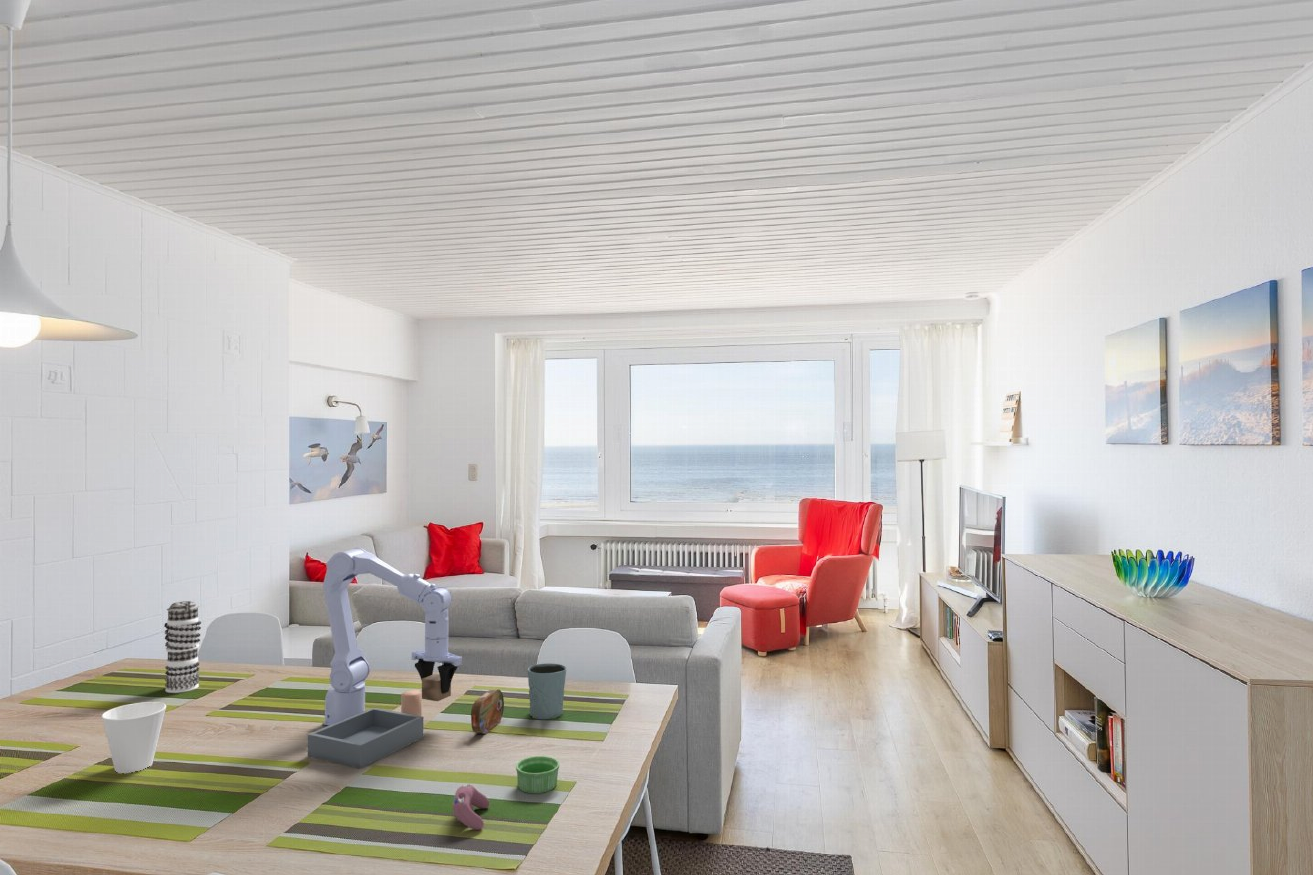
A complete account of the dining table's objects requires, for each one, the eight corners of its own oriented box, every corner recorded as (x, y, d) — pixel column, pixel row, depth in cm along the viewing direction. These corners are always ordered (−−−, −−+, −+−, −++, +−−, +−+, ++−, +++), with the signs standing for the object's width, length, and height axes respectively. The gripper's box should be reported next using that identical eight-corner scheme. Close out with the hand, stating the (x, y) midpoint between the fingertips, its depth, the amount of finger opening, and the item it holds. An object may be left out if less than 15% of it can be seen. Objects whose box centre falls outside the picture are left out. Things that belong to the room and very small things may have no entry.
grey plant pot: (520, 716, 200) (520, 670, 200) (540, 705, 210) (540, 661, 210) (554, 722, 196) (554, 675, 197) (572, 709, 206) (573, 664, 206)
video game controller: (470, 815, 149) (454, 783, 149) (491, 803, 150) (475, 772, 150) (462, 840, 140) (445, 806, 139) (485, 828, 140) (467, 794, 140)
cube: (421, 698, 192) (421, 678, 192) (435, 692, 196) (435, 673, 197) (437, 701, 190) (437, 681, 190) (450, 695, 194) (450, 675, 194)
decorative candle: (188, 693, 220) (189, 605, 220) (156, 693, 220) (157, 605, 220) (207, 683, 229) (208, 599, 229) (176, 683, 229) (177, 599, 229)
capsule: (396, 722, 196) (397, 694, 197) (410, 715, 201) (410, 689, 201) (412, 724, 194) (412, 697, 194) (425, 718, 199) (425, 691, 199)
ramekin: (539, 799, 153) (539, 776, 153) (506, 788, 158) (506, 767, 158) (568, 782, 161) (568, 761, 161) (535, 773, 165) (535, 752, 166)
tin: (480, 739, 185) (480, 704, 185) (468, 738, 186) (468, 703, 186) (505, 717, 200) (505, 685, 200) (493, 717, 200) (493, 684, 200)
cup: (95, 782, 160) (96, 723, 161) (105, 762, 171) (106, 706, 171) (162, 771, 166) (163, 714, 166) (168, 752, 176) (169, 698, 177)
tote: (307, 756, 174) (307, 734, 174) (373, 727, 192) (373, 707, 193) (360, 768, 168) (360, 745, 168) (423, 737, 186) (423, 716, 186)
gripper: (403, 637, 193) (402, 691, 193) (449, 643, 187) (448, 699, 187) (422, 631, 199) (422, 683, 199) (467, 637, 193) (467, 691, 193)
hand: (436, 690), depth 193 cm, fingers closed on cube, 5 cm apart
